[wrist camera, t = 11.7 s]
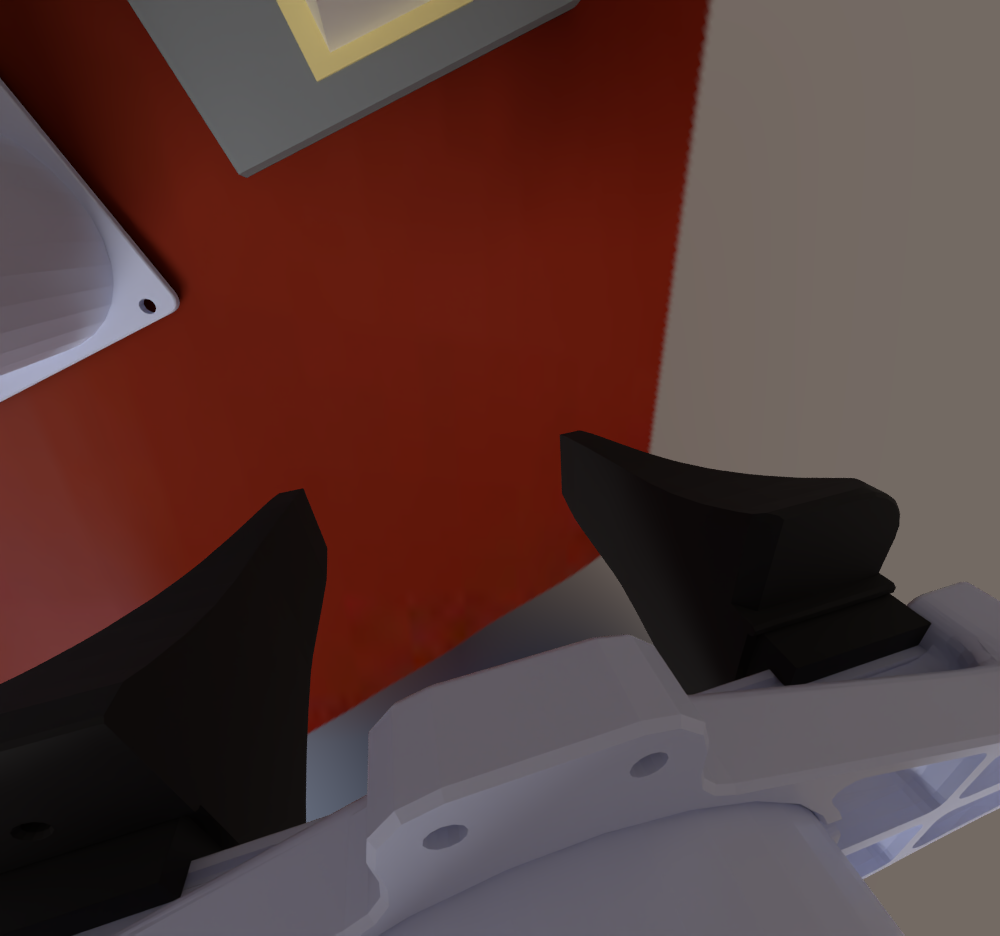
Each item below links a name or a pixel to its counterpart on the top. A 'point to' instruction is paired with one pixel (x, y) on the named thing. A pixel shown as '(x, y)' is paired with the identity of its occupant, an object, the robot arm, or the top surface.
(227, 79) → the board
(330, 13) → the block
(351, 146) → the top surface
